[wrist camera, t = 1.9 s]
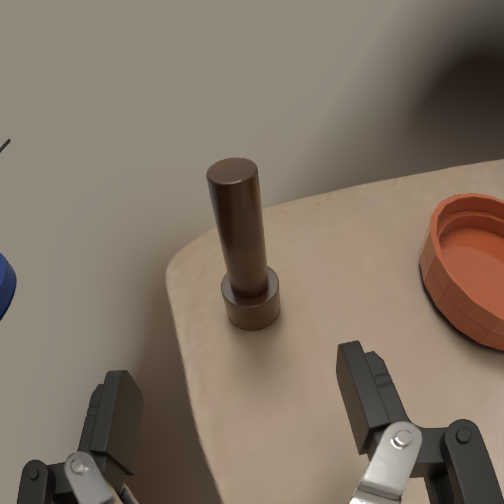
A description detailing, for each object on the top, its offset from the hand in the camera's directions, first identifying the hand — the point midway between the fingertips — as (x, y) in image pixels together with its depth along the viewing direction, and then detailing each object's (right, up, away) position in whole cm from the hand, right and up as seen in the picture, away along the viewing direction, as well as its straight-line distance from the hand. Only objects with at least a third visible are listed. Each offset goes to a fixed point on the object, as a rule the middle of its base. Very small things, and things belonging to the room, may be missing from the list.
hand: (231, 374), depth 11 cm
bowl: (+22, +2, +12) cm, 25 cm away
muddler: (+1, 0, +13) cm, 13 cm away
